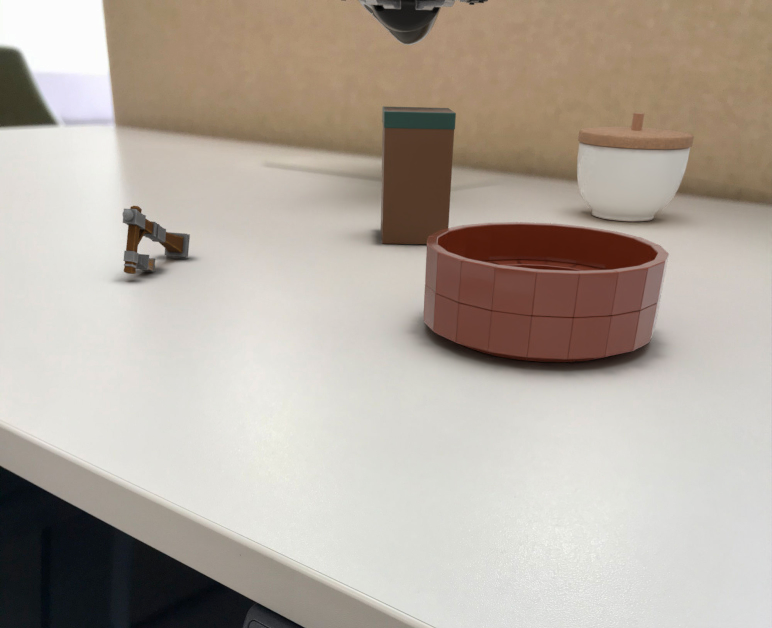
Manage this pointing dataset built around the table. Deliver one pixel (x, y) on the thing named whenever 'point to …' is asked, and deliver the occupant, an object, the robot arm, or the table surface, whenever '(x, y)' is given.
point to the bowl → (543, 290)
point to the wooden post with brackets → (141, 227)
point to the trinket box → (630, 169)
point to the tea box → (415, 173)
